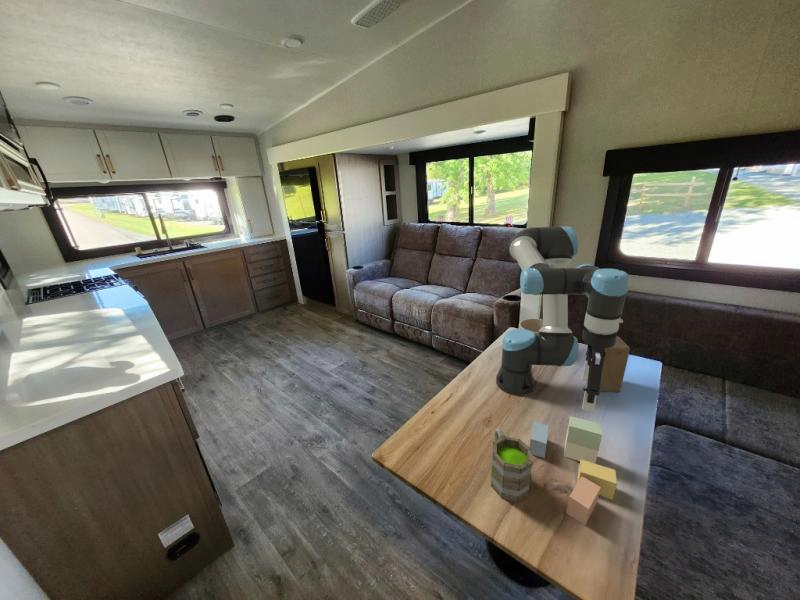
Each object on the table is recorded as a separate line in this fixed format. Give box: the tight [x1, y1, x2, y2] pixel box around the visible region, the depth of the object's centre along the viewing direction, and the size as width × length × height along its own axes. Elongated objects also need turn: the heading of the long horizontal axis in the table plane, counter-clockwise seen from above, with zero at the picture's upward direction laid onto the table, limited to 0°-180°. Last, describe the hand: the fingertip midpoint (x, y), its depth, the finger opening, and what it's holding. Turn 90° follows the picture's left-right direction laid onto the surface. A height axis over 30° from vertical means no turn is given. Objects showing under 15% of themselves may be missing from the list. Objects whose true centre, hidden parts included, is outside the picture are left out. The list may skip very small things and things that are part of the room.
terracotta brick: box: [565, 476, 601, 526], centre depth 77 cm, size 8×4×6 cm, turn 131°
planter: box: [518, 317, 543, 335], centre depth 149 cm, size 16×16×13 cm
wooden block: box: [586, 335, 631, 393], centre depth 119 cm, size 10×10×20 cm
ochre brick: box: [577, 459, 618, 501], centre depth 82 cm, size 8×4×6 cm, turn 61°
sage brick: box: [566, 415, 603, 452], centre depth 89 cm, size 8×4×6 cm, turn 61°
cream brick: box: [563, 434, 599, 464], centre depth 92 cm, size 8×4×6 cm, turn 61°
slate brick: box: [529, 421, 549, 459], centre depth 96 cm, size 8×4×6 cm, turn 151°
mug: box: [490, 428, 534, 503], centre depth 86 cm, size 16×11×12 cm
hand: (587, 394), depth 87 cm, fingers open, 13 cm apart
